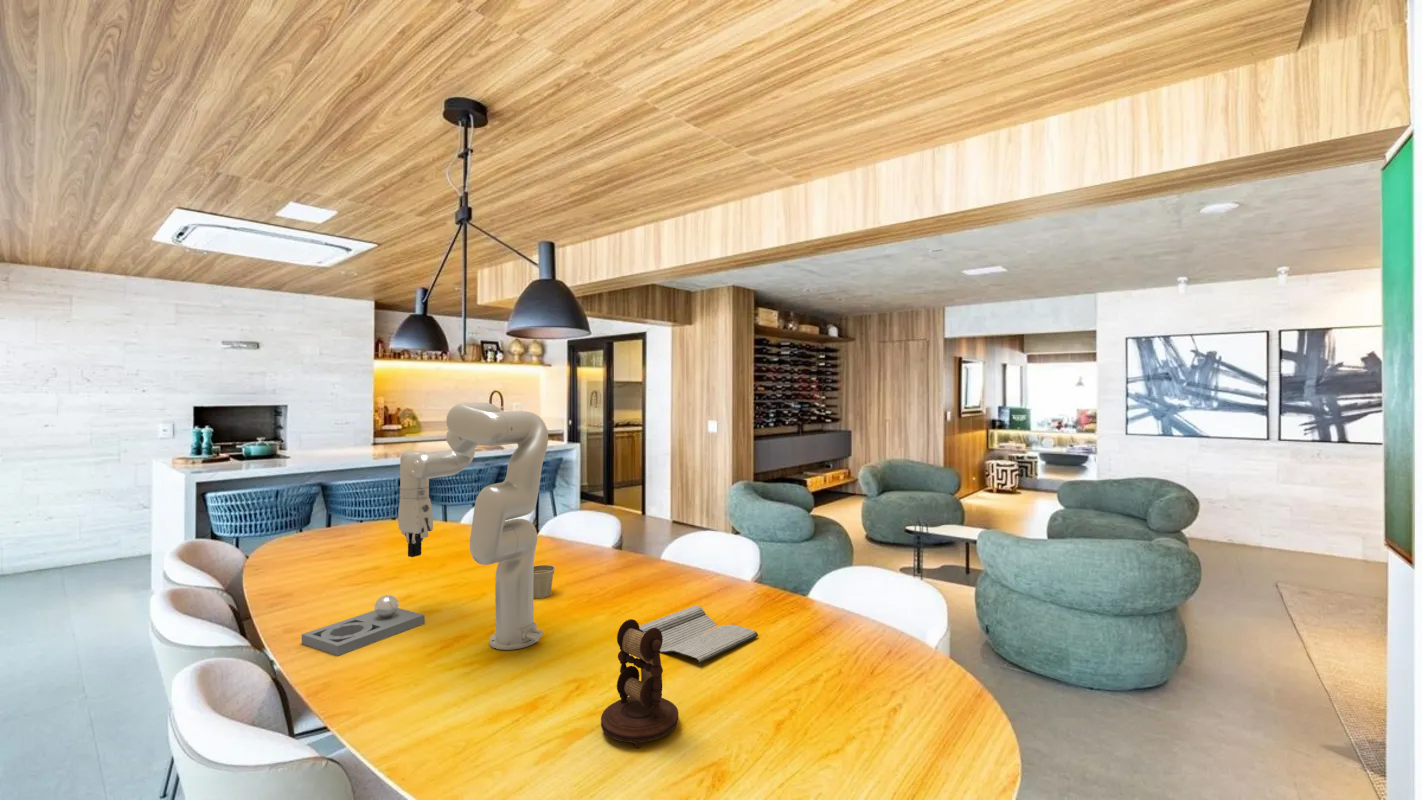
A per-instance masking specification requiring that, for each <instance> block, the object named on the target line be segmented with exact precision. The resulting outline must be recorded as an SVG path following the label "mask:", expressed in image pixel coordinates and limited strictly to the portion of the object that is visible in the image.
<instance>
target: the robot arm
mask: <svg viewBox="0 0 1422 800" xmlns="http://www.w3.org/2000/svg"><path fill="white" fill-rule="evenodd" d="M445 423H446V427H447V431H446V434H445V435H446V437H445V439H446V442H447V444H448V445H449V447H450V448H451V449H448V450H440V451H439V450H438V451H430V452H428V451H422V450H413V451H411V450H410V451H405V452H403V453H401V454H400V457H399V458H400V459H399V460H400V461H399V462H400V464H399V467H400V469H399V470H400V471H399V473H400V474H399V475H400V476H399V477H400V478H399V479H400V480H399V481H400V486H399V487H400V490H399V492H400V494H399V496H400V497H399V505H398V517H397V519H398V520H397V523H398V529H399V531H400V533H401V535H404V536H405V538H406V539H405V540H406V543H407V556H408V558H409V557H410V558H414V557H419V556H421V555H422V542H423V541H424V538H425V539H426V538H428V537H429V532H432V531H433V529H434V517H433V505H432V502H431V498H430V493H429V492H430V487H429V486H430V484H429V483H430V479H436V478H442V477H443V478H445V477H451V476H454V475H457V474H459V473H461V472H462V471H463V470H464V469H466V468H467V467H468V466H469V465H470V464H471V463H472V462H473V460H474V457H475V452H476V450H475V449H476V448H477V447H479V445H482V446H487V447H489V446H490V447H495V446H496V447H497V446H507V445H515V444H517V447H516V449H515V450H514V451H513V453H512V454H511V456H510V459H509V461H508V462H507V463H508V464H507V471H506V476H505V479H504V480H503V481H502V482H497V483H493V484H489V485H487V486H485V487H484V488H482V489H481V491H480V492H479V493H478V495H477V496H476V499H475V502H474V508H473V515H472V521H471V522H472V523H471V529H470V537H469V538H470V539H469V550H470V555H471V557H472V559H473V560H474V561H475V562H476V563H478V565H482V566H486V565H487V566H489V565H493V564H497V567H496V570H495V577H494V579H495V581H494V582H495V583H494V584H495V585H494V590H495V591H494V593H495V594H494V595H495V598H494V599H495V601H494V602H495V606H494V607H495V608H494V610H495V614H494V615H495V632H494V633H493V634H492V635H490V637H489V641H488V644H489V646H490V647H491V648H493V649H495V648H496V649H495V650H501V651H503V650H504V651H510V650H520V649H523V648H527V647H529V646H532V645H534V644H535V643H537V642H539V641H540V640H541V637H542V636H543V635H544V631H543V630H541V629H537V622H534V621H535V619H534V616H535V615H534V598H533V568H534V566H535V565H534V564H535V554H536V549H537V544H538V543H537V542H538V532H537V528H536V527H535V525H534V524H533V522H531V521H530V520H528V519H525V518H521V517H524V516H527V515H530V514H532V513H533V512H534V511H535V508H536V506H537V502H538V497H539V490H540V485H541V484H540V483H541V479H542V478H541V476H542V469H543V464H544V460H545V457H546V454H547V453H546V452H547V449H548V443H549V432H548V427H547V426H546V423H545V422H544V420H543V419H542V417H540V416H539V415H538V414H535V413H534V412H530V411H523V410H517V411H516V410H514V411H511V410H510V411H502V410H501V409H500V408H499V407H498V406H497V405H495V404H492V403H488V402H462V403H457V404H455V405H454V406H452V407H451V409H449V411H448V413H447V415H446V422H445Z"/></svg>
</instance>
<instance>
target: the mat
mask: <svg viewBox="0 0 1422 800" xmlns="http://www.w3.org/2000/svg"><path fill="white" fill-rule="evenodd" d="M716 625H718V624H717V623H716V622H714V621H713V619H711V617H709V616H708V615H707V614H706V612H705V611H704V610H703V607H702V606H698V605H694V606H690V607H687V608H685V609H682V610H680V611H676V612H674V613H670V614H668V615H665V616H662V617H660V618H657V619H655V620H651V621H649V622H647V623H644V624H640V625H639V628H640V632H643V633H646V631H648V630H649V629H651V628H658V629H659V630H660V631H661V633H662V637H663V641H662V647H661V649H660V651H661V653H660V654H668V653H675V654H678V655H681V656H682V657H688V658H691V659H694V660H697V662H698V663H699V664H701V665H700V666H701V667H702V665H703V663H704V662H706V661H709V660H710V659H712V658H715V657H716V656H718V655H721V654H722V653H725V652H727V651H729V650H731V649H733V648H735V647H737V646H739V645H741V644H742V645H743V644H744V643H746V642H749V641H750V640H751V641H752V640H753V639H754V640H755V638H757V637H758V636H759V634H758V632H757V631H756V630H753V629H752V628H751V629H750V628H747V627H743V626H740V625H736V624H727V625H718V626H716ZM715 626H716V627H715Z"/></svg>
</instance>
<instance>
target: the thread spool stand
mask: <svg viewBox="0 0 1422 800" xmlns="http://www.w3.org/2000/svg"><path fill="white" fill-rule="evenodd" d="M639 626H640V625H639V622H637V620H635V619H632V618H630V619H629V618H628V619H626V620H625V621H624V622H622V624H621V625H620V626H619V629H618V630H617V634H616V642H617V645H618V647H619V650H620V651H619V652H618V654H617V659H618V661H619V664H620V668H619V673H620V674H619V676H618V678H617V682H616V690H617V693H618V694H619V698H620V699H618V700H617V701H615V702H613V703H611V704H610V705H608V706H607V707H606V708H605V709H604V710H603V712H602V713H601V717H600V727H601V729H602V731H603V733H604V734H605V735H606V736H608V737H610V738H612V739H614V740H616V741H620V742H626V743H634V746H635V748H636V749H640V747H641V744H642V743H644V742H645V743H646V742H651V741H654V740H658V739H660V738H662V737H665V736H667V735H668V734H670V733H671V732H672V731H674V730H675V729H676V727H677V725H678V724H679V709H678V708H677V706H676V705H675V703H673V702H672V701H670V700H668V699H666V698H664V697H662V696H663V671H664V668H663V666H662V659H661V654H662V653H661V651H660V649H661V647H662V641H663V637H662V633H661V631H660V630H659V629H658V628H651V629H649V630H648V631H646V633H643V632H640V628H639ZM635 657H636V658H635ZM627 664H633V665H629V666H627ZM639 669H640V670H639ZM640 677H641V678H640Z"/></svg>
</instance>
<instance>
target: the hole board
mask: <svg viewBox="0 0 1422 800" xmlns="http://www.w3.org/2000/svg"><path fill="white" fill-rule="evenodd" d="M424 623H425V614H423V613H419V612H415V611H411V610H407V609H403V608H400V607H398V609H397V611H396V612H395V614H393V615H392V616H390V617H386V618H383V617H380V616H378V615H377V614H376V613H375V610H373V611H369V612H366V613H363V614H360V615H357V616H354V617H351V618H347V619H344V620H342V621H338V622H335V623H332V624H328V625H325V626H323V627H319V628H316V629H313V630H311V631H307V632H304V633H301V645H303V646H307V647H309V648H313V649H316V650H318V651H321V652H324V653H327V654H331V655H333V656H336V657H339V656H342V655H345V654H347V653H350V652H352V651H355V650H357V649H361V648H363V647H366V646H369V645H371V644H374V643H377V642H379V641H382V640H385V639H387V638H390V637H393V636H395V635H398V634H401V633H403V632H406V631H409V630H411V629H414V628H417V627H419V626H422V625H424ZM421 624H422V625H421ZM416 626H417V627H416ZM408 629H409V630H408Z"/></svg>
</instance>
